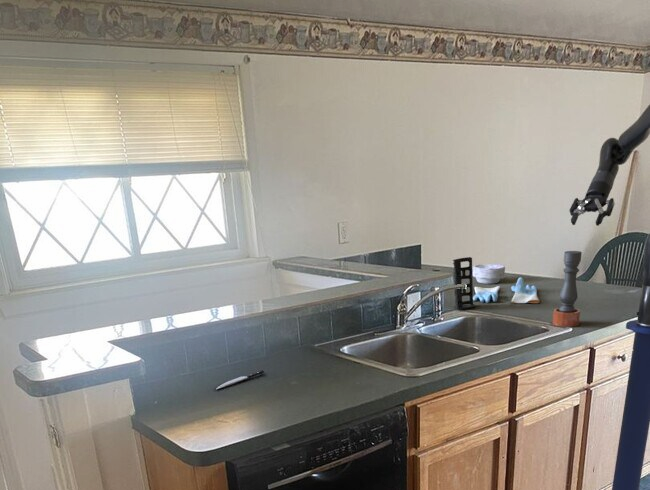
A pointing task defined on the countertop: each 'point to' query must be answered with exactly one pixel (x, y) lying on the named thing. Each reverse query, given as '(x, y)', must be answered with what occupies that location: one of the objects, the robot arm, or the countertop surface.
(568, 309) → the candle holder
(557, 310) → the holder cup
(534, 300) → the rubber gloves
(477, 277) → the paper bowls
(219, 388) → the chef's knife
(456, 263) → the holder
